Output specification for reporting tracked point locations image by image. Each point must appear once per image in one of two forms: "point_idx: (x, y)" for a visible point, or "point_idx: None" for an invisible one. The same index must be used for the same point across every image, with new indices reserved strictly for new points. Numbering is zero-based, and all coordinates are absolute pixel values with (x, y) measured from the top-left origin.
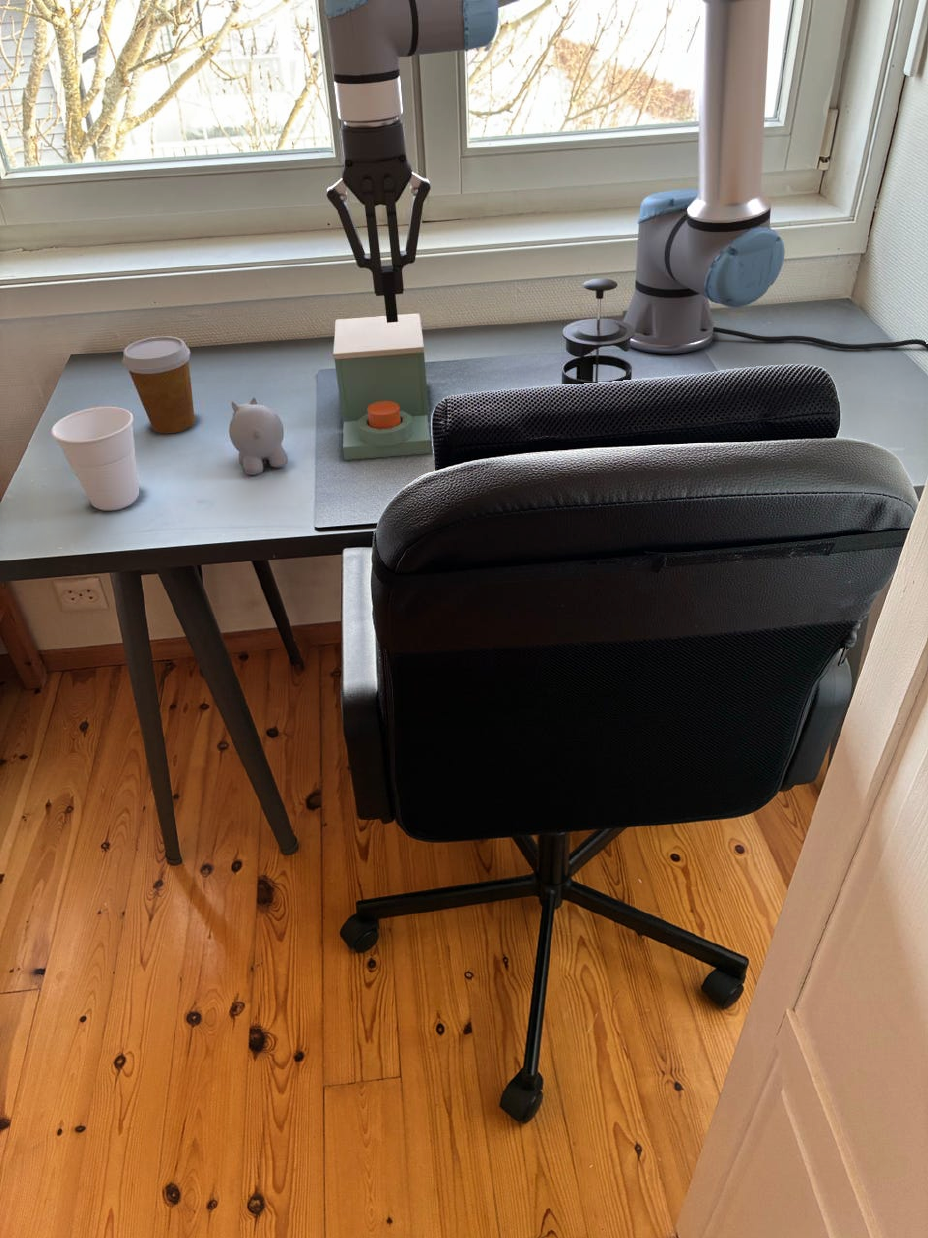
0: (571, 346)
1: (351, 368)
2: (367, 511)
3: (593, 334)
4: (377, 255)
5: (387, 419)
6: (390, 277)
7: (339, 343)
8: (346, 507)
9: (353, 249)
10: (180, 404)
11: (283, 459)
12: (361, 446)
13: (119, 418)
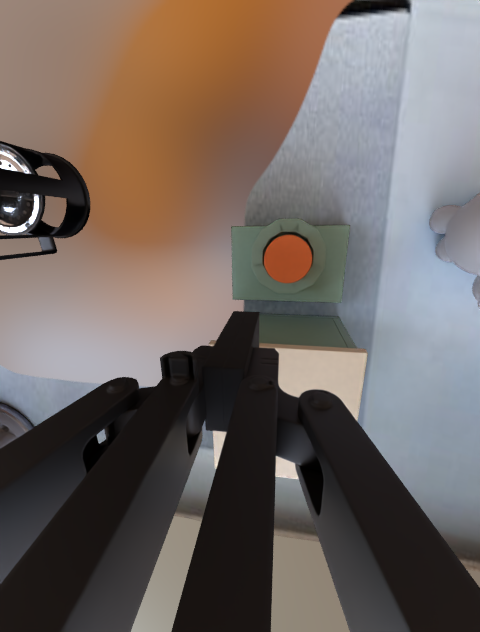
0: None
1: (331, 346)
2: (327, 61)
3: None
4: (243, 413)
5: (283, 235)
6: (217, 356)
7: (351, 393)
8: (356, 77)
9: (370, 453)
10: None
11: (440, 209)
12: (323, 225)
13: None
